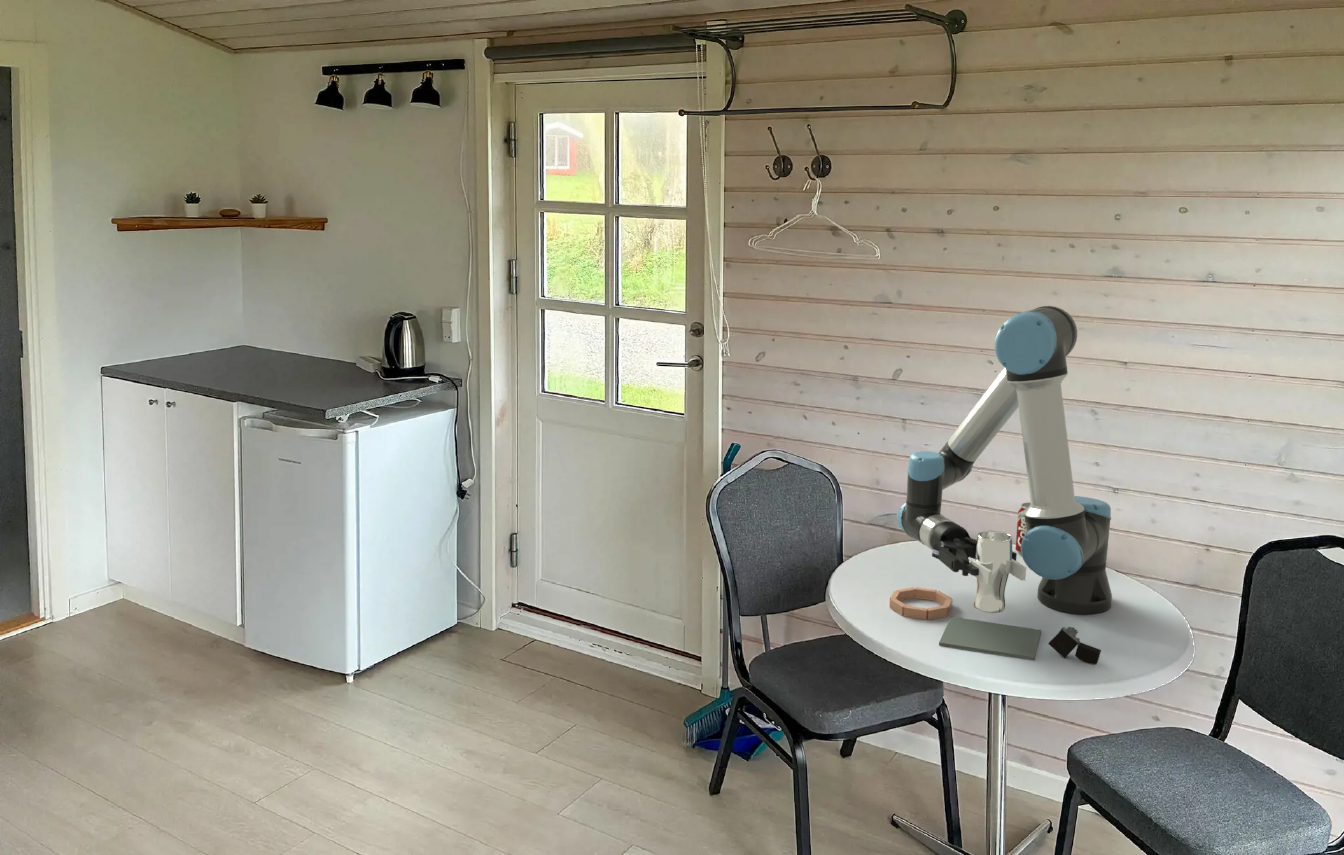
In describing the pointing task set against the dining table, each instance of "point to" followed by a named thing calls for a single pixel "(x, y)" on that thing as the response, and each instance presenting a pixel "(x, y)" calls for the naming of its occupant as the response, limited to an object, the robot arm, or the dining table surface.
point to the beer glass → (993, 569)
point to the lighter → (1068, 641)
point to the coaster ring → (917, 611)
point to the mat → (991, 638)
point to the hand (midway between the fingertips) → (1007, 576)
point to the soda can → (1021, 526)
